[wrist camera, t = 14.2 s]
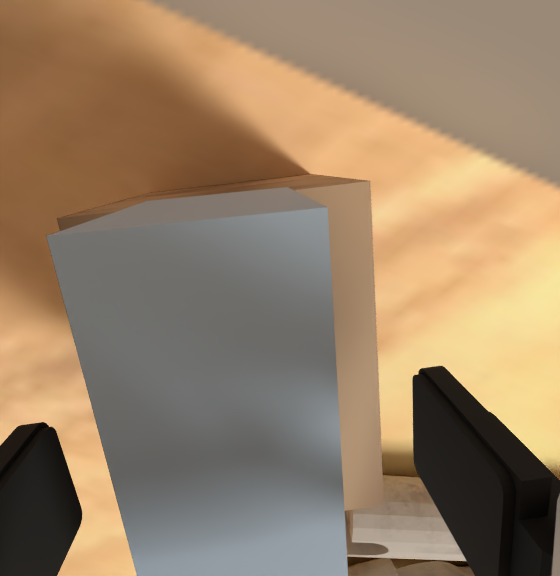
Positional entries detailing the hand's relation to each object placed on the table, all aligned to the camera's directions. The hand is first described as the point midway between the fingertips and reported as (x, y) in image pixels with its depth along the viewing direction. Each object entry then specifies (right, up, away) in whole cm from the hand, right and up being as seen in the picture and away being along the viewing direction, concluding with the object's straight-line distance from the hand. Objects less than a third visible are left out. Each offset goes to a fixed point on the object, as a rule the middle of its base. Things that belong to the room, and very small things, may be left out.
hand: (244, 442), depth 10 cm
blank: (0, +1, +3) cm, 3 cm away
